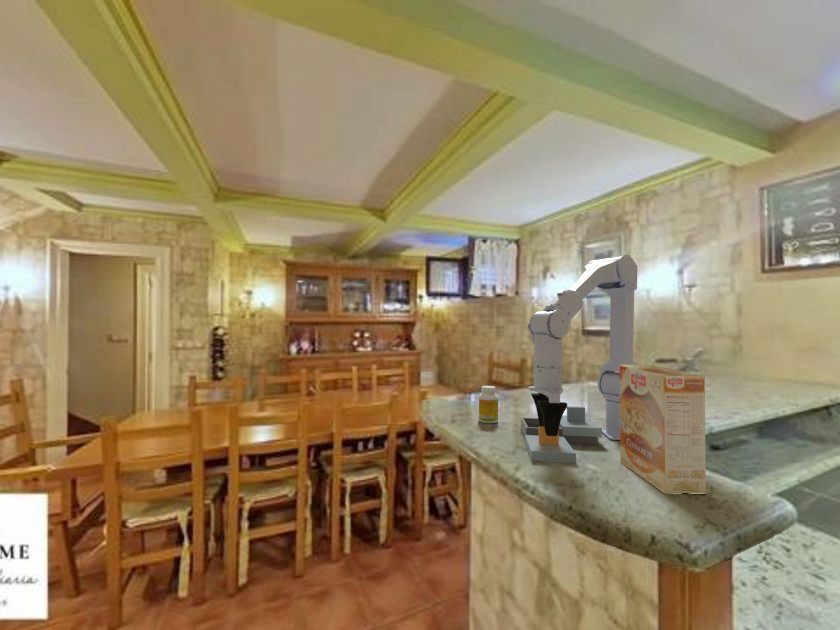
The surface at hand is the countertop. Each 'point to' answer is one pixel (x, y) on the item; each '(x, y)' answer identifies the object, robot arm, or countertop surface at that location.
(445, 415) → the countertop surface
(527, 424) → the parts tub
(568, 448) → the tabbed lid segment
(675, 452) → the coffeecake box
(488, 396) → the supplement bottle
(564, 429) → the lid segment
